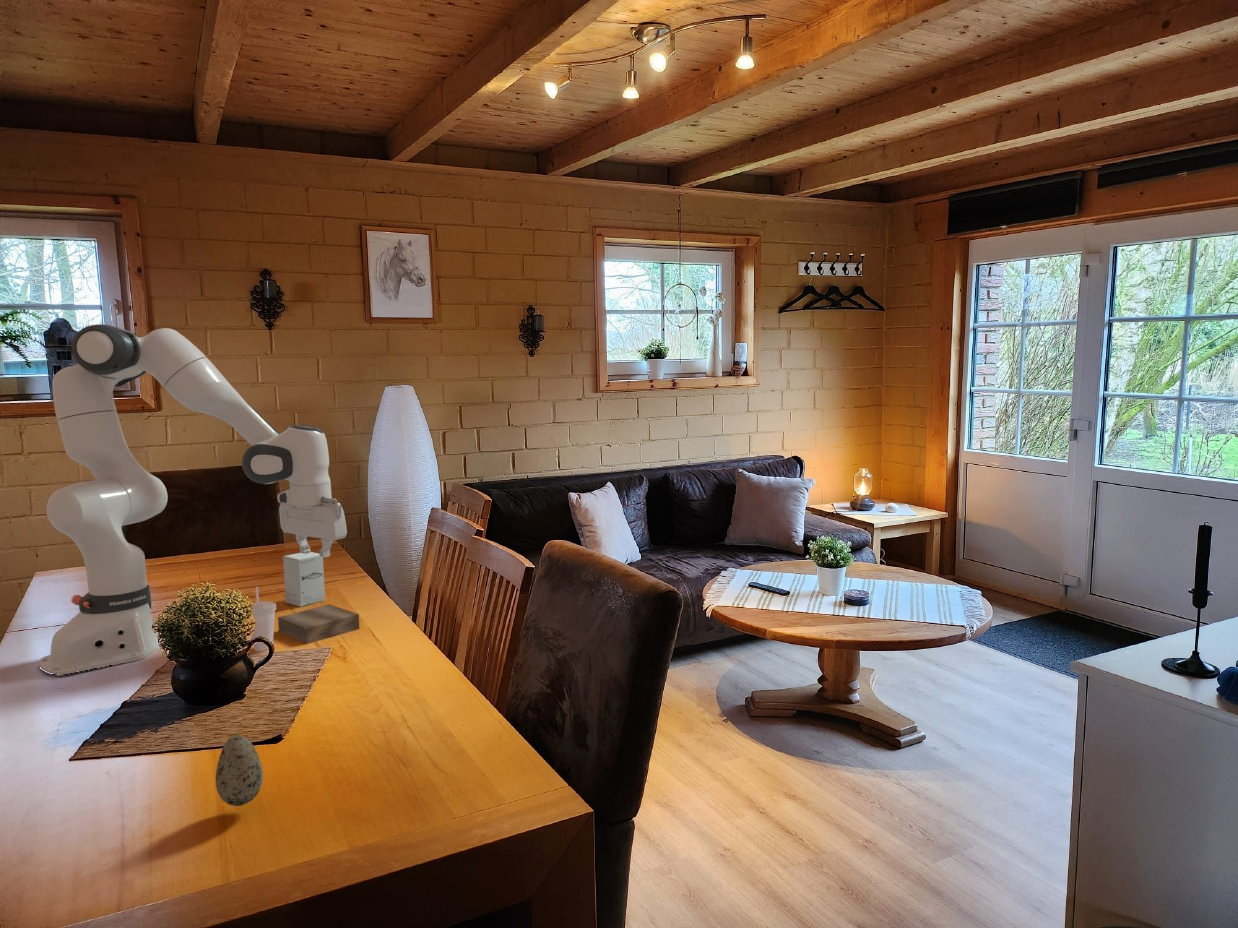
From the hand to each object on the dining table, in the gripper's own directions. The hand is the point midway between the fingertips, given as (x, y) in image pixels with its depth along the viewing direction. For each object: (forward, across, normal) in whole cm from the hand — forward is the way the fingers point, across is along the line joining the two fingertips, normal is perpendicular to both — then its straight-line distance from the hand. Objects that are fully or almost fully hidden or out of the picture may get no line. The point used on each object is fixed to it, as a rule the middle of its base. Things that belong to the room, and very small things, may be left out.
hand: (315, 554), depth 185 cm
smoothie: (+18, 0, +14) cm, 23 cm away
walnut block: (+18, 0, 0) cm, 19 cm away
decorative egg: (+18, -56, +53) cm, 79 cm away
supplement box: (+18, +24, -13) cm, 33 cm away
